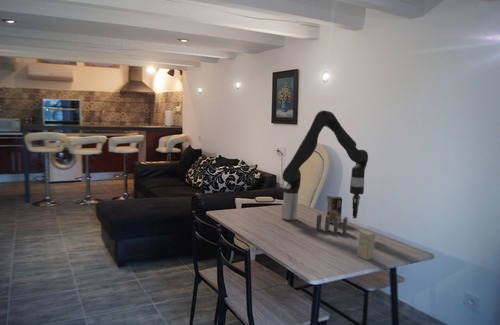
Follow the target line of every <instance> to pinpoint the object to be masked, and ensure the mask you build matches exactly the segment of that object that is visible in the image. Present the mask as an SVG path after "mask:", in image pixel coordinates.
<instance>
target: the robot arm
mask: <svg viewBox="0 0 500 325" xmlns="http://www.w3.org/2000/svg"><path fill="white" fill-rule="evenodd" d="M324 127H325V128H326V127H327V128H328V129H329V130H331V131H332V132H333V134H334V135H335V138H336V140H337V142H338V144H340V146H341V147H342V148H343V149H344V150H345V152H346V154H347V156H348V157H349V159H350V160H351V161H352V162H354V163H355V165H354V166H353V167H352V168H351V177H350V183H349V184H350V185H349V187H350V188H349V193H350V194H352V202H351V205H352V217H353V216H357V217H358V211H359V207H360V206H359V205H360V201H361V200H360V199H361V196H360V195H363V194H364V193H365V171H366V167H367V163H368V160H369V155H368V151H367V150H365V149H358V148H357V142H356V141H355V140H354V139H353V138H352V137H351V136H350V135H349V134H348V133H347V132H346V130H345V129H344V128H343V126H342V125H341V123H340V122H339V120H338V119H337V117H336V116H335V114H334V113H333V112H331V111H328V110H319V111H318V112H317V113H316V114H315V117H314V119H313V121H312V124H311V126H310V127H309V130H308V131H307V132H306V135H305V137H304V138H303V139H302V141H301V142H300V145H299V147H298V148H297V150H296V151H295V153H294V155H293V157H292V159H291V160H290V162H289V163H288V164H287V166H286V167H285V168H284V170H283V172H282V179H283V181H284V182H285V183H287V184H286V185H285V187H283V202H282V204H281V219H283V220H286V221H287V220H288V221H296V220H297V219H298V204H299V191H300V187H301V182H302V181H301V180H302V173H301V170H300V168H301V166H303V165H304V164H305V162H307V161H308V160H309V158H311V156H312V155H313V154H314V152H315V150H316V148H317V146H318V141H319V135H320V133H321V131H322V130H323V129H324ZM357 203H358V204H357ZM354 205H356V207H354ZM357 207H358V208H357Z"/></svg>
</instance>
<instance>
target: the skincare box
mask: <svg viewBox="0 0 500 325" xmlns="http://www.w3.org/2000/svg"><path fill="white" fill-rule="evenodd" d="M358 235H359V236H358V246H357V257H360V258H361V259H363V260H366V261H367V260H368V261H369V260H373V257H374V251H375V250H374V249H375V241H376V239H375V238H376V233H374V232H371V231H368V230H360V231H359V234H358Z"/></svg>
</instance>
